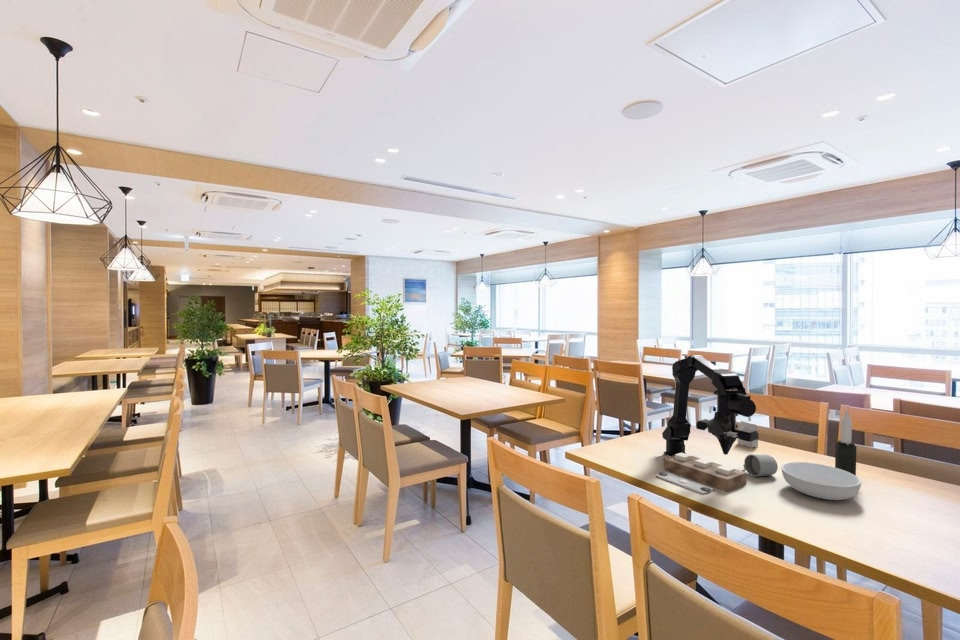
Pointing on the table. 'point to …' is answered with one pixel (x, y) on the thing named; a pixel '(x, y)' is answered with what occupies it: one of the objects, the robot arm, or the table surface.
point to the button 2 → (725, 470)
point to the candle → (846, 447)
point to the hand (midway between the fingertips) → (725, 454)
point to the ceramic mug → (760, 465)
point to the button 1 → (683, 457)
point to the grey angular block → (752, 427)
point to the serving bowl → (821, 480)
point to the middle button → (703, 463)
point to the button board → (705, 473)
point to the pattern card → (684, 482)
